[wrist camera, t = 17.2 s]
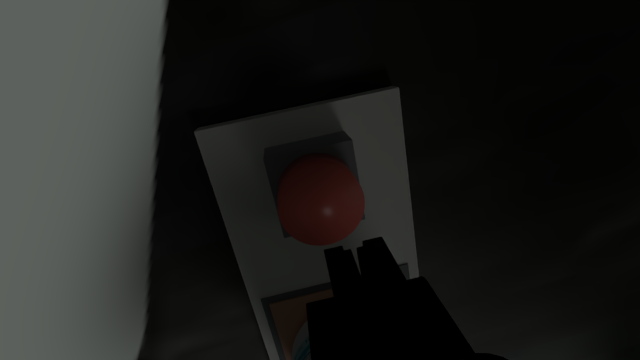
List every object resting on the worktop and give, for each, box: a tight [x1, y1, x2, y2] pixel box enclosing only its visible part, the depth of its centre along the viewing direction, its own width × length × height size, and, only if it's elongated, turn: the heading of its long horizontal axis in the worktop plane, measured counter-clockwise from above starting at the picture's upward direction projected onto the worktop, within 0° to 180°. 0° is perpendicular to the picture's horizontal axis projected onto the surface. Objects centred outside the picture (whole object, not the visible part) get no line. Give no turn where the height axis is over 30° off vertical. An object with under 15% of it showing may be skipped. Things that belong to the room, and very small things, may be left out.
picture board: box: [194, 86, 419, 360], centre depth 19 cm, size 19×10×3 cm, turn 11°
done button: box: [277, 153, 365, 246], centre depth 15 cm, size 4×4×2 cm
